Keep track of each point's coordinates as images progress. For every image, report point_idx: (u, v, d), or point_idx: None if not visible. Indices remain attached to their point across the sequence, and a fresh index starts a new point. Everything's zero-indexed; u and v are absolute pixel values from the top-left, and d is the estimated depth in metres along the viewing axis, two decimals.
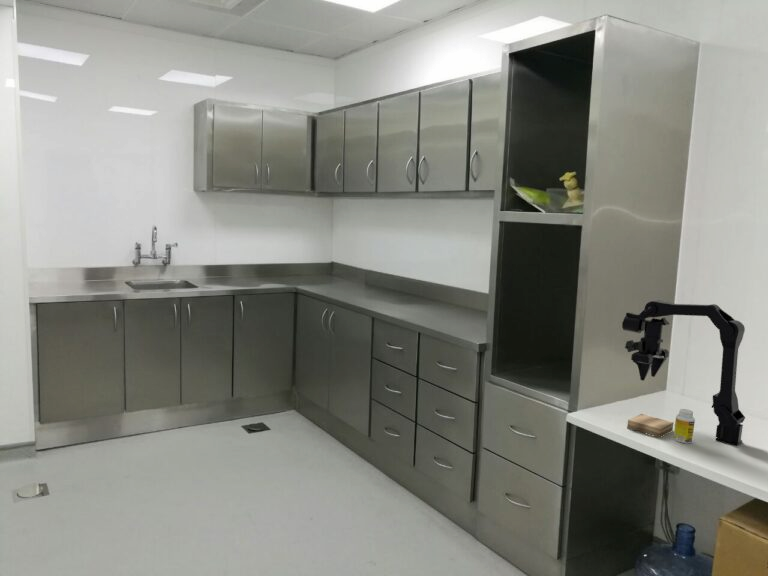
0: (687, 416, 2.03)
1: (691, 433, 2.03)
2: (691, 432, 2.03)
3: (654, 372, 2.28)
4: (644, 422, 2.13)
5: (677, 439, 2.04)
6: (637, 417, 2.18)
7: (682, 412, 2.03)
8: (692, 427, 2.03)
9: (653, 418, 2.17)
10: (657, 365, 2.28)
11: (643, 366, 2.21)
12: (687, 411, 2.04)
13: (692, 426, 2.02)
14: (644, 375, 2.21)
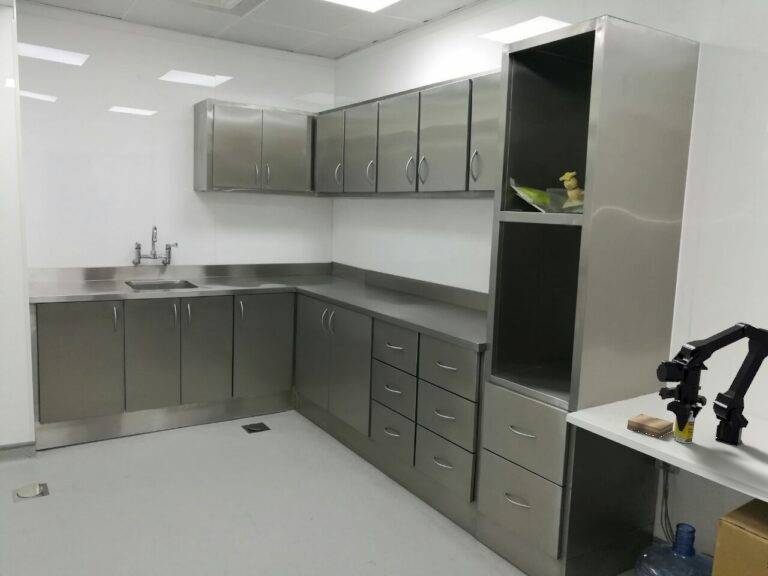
0: None
1: (691, 433, 2.03)
2: (691, 432, 2.03)
3: None
4: (644, 422, 2.13)
5: (677, 439, 2.04)
6: (637, 417, 2.18)
7: None
8: (692, 427, 2.03)
9: (653, 418, 2.17)
10: None
11: (682, 416, 2.01)
12: None
13: (692, 426, 2.02)
14: (683, 426, 2.02)
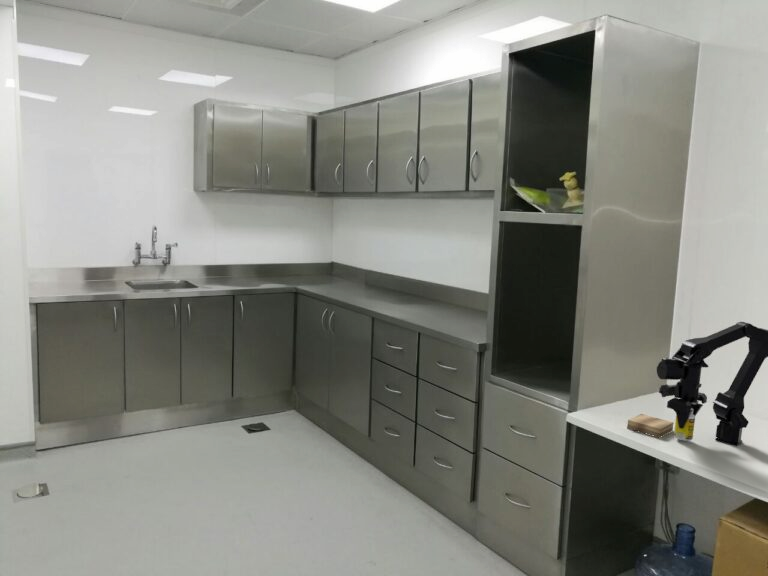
0: None
1: (691, 430, 2.03)
2: (691, 429, 2.03)
3: None
4: (644, 422, 2.13)
5: (677, 436, 2.04)
6: (637, 417, 2.18)
7: None
8: (692, 424, 2.02)
9: (653, 418, 2.17)
10: (693, 413, 2.06)
11: (682, 413, 2.01)
12: None
13: (692, 423, 2.02)
14: (683, 423, 2.01)
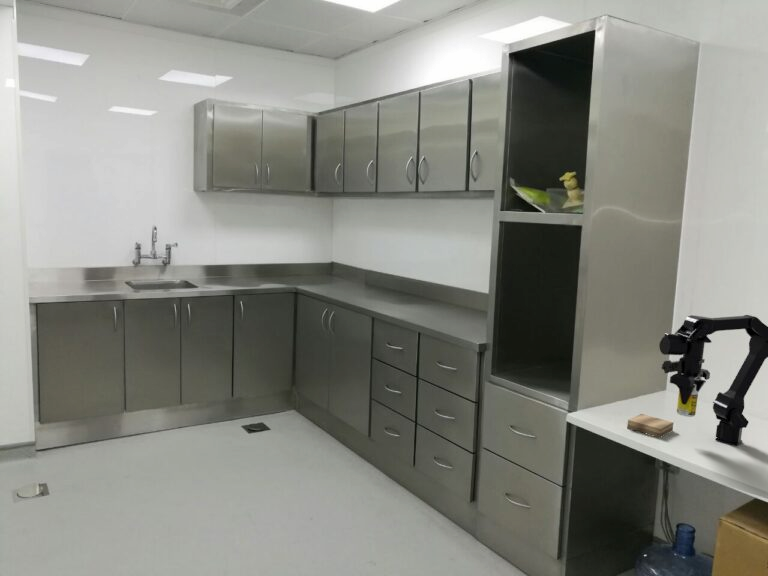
0: None
1: (694, 406, 2.02)
2: (694, 405, 2.02)
3: None
4: (644, 422, 2.13)
5: (680, 412, 2.03)
6: (637, 417, 2.18)
7: None
8: (695, 400, 2.01)
9: (653, 418, 2.17)
10: (696, 389, 2.05)
11: (685, 389, 2.00)
12: None
13: (695, 399, 2.01)
14: (686, 399, 2.00)
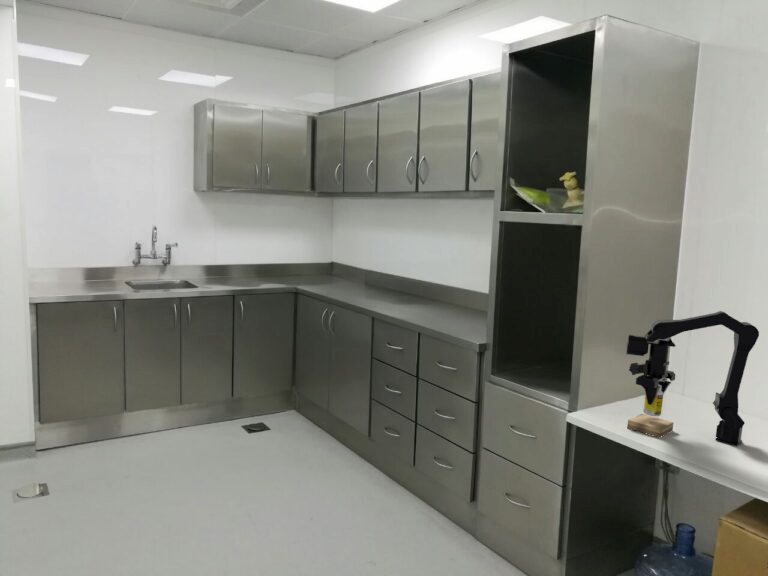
0: None
1: (660, 406, 2.11)
2: (660, 405, 2.11)
3: None
4: (644, 422, 2.13)
5: (646, 412, 2.13)
6: (637, 417, 2.18)
7: None
8: (661, 400, 2.11)
9: (653, 418, 2.17)
10: (661, 390, 2.15)
11: (650, 390, 2.10)
12: None
13: (661, 399, 2.11)
14: (651, 399, 2.10)
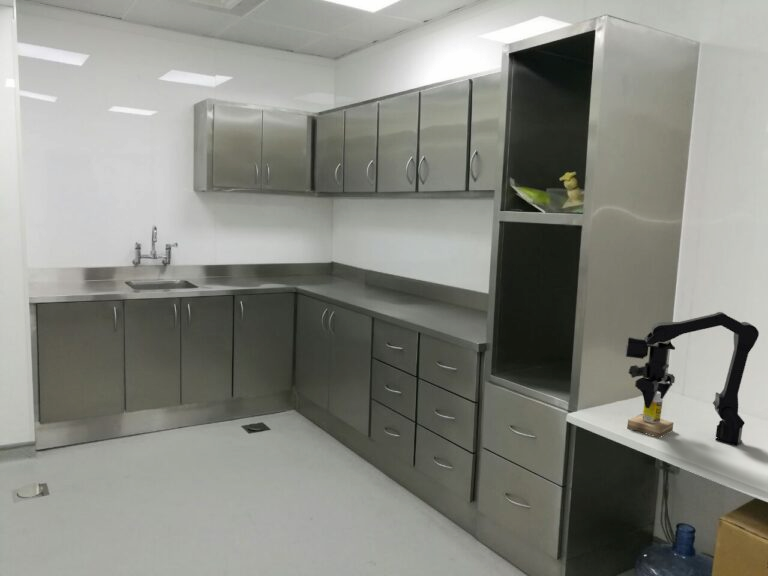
0: (655, 397, 2.12)
1: (659, 413, 2.12)
2: (659, 412, 2.12)
3: None
4: (644, 422, 2.13)
5: (645, 419, 2.13)
6: (637, 417, 2.18)
7: None
8: (660, 407, 2.12)
9: None
10: (663, 392, 2.16)
11: (648, 393, 2.09)
12: None
13: (660, 406, 2.11)
14: (649, 402, 2.09)
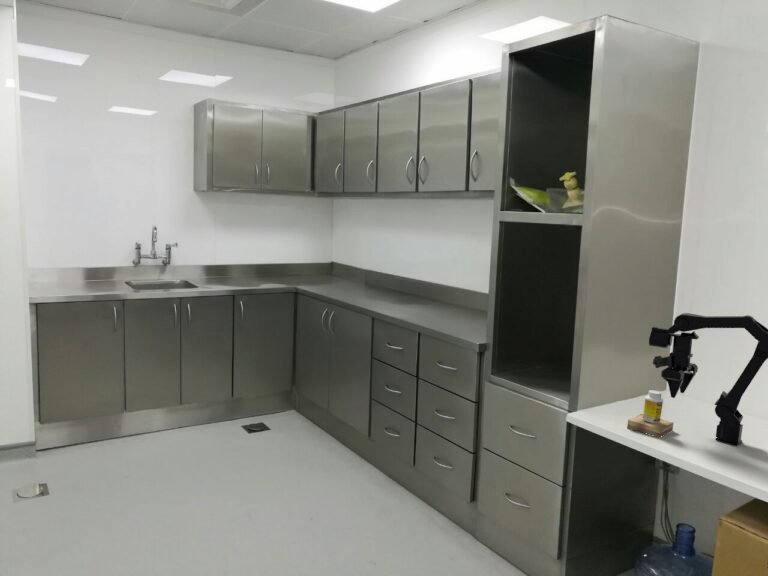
0: (655, 397, 2.12)
1: (659, 413, 2.12)
2: (659, 412, 2.12)
3: (683, 388, 2.18)
4: (644, 422, 2.13)
5: (646, 419, 2.13)
6: (637, 417, 2.18)
7: (651, 393, 2.12)
8: (660, 407, 2.12)
9: None
10: (687, 381, 2.18)
11: (674, 383, 2.11)
12: (656, 392, 2.13)
13: (660, 406, 2.11)
14: (675, 392, 2.11)
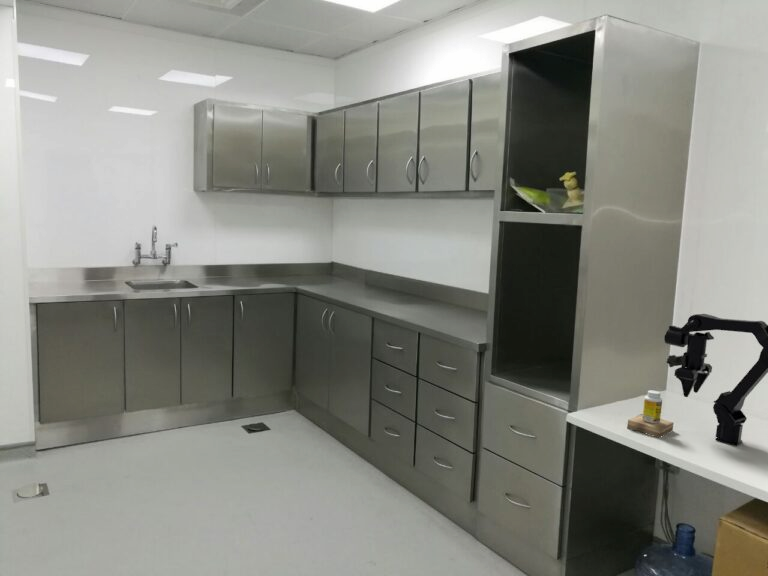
0: (655, 397, 2.12)
1: (659, 413, 2.12)
2: (659, 412, 2.12)
3: (697, 388, 2.20)
4: (644, 422, 2.13)
5: (645, 419, 2.13)
6: (637, 417, 2.18)
7: (650, 393, 2.12)
8: (659, 407, 2.12)
9: None
10: (700, 381, 2.19)
11: (687, 382, 2.12)
12: (655, 392, 2.13)
13: (659, 406, 2.12)
14: (688, 391, 2.13)
